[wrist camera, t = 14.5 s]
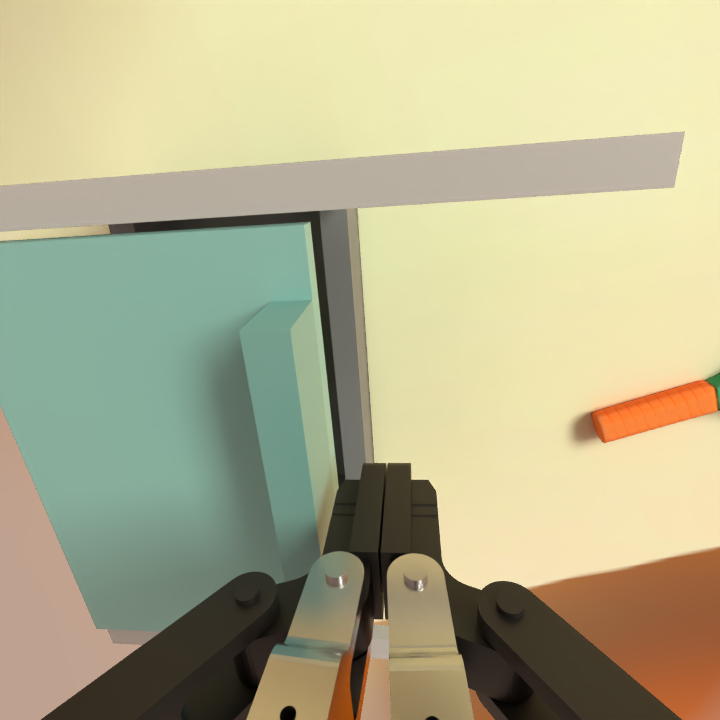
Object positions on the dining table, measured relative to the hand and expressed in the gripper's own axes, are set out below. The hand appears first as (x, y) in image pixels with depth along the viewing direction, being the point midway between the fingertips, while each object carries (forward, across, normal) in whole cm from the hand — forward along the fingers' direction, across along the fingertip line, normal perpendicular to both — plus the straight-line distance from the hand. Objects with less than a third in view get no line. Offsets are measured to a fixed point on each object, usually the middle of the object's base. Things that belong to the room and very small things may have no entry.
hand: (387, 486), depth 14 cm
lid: (+1, +7, 0) cm, 7 cm away
